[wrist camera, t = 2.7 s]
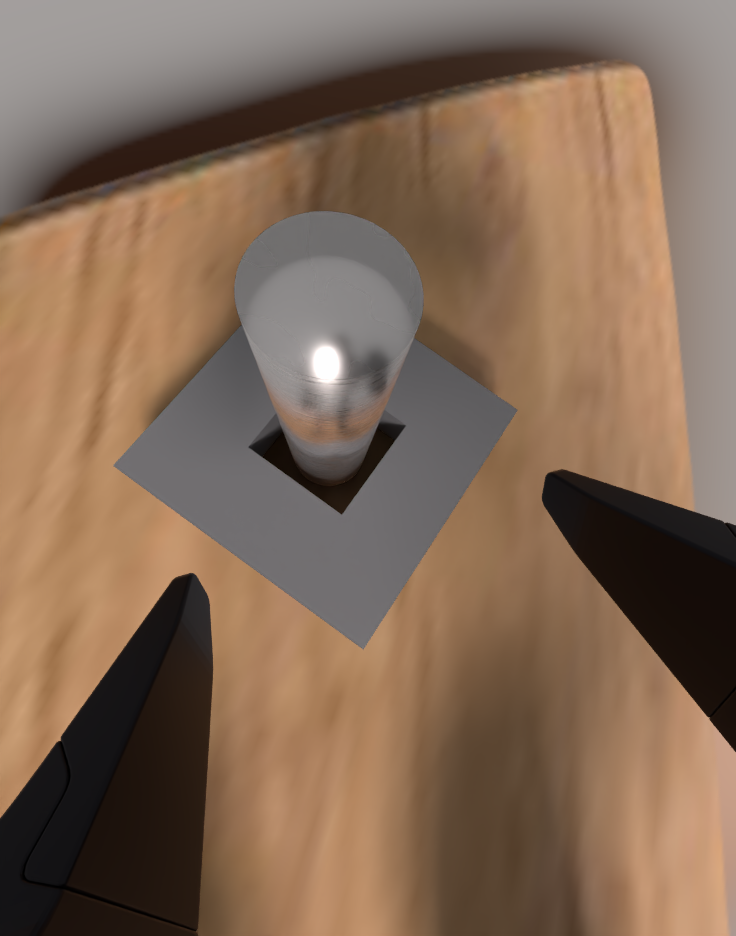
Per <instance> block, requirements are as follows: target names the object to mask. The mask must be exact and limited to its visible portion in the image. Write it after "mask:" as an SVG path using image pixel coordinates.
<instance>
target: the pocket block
mask: <svg viewBox="0 0 736 936" xmlns="http://www.w3.org/2000/svg"><path fill="white" fill-rule="evenodd" d="M516 412H517V409H515V408H514V407H513V406H511V405H510V404H508V403H507V402H505V401H504V400H502V399H501V398H500V397H498V396H497V395H495V394H494V393H492V392H491V391H490V390H488V389H487V388H485V387H484V386H482V385H481V384H479V383H478V382H477V381H475V380H474V379H472V378H471V377H469V376H468V375H467V374H465V373H464V372H462V371H461V370H459V369H458V368H456V367H455V366H454V365H452V364H451V363H449V362H448V361H446V360H445V359H444V358H442V357H441V356H439V355H438V354H436V353H435V352H433V351H432V350H431V349H429V348H428V347H426V346H425V345H423V344H422V343H421V342H419V341H418V340H416V339H415V338H414V339H413V341H412V344H411V346H410V349H409V351H408V353H407V356H406V358H405V361H404V363H403V366H402V368H401V370H400V373H399V375H398V378H397V380H396V383H395V385H394V387H393V390H392V392H391V395H390V397H389V400H388V402H387V405H386V407H385V409H384V412H383V414H382V417H381V419H380V422H379V424H378V426H377V428H378V429H379V430H381V431H382V432H384V433H385V434H386V435H388V436H389V437H391V438H392V439H393V440H395V442H394V443H393V445H392V446H391V447H390V449H389V450H388V452H387V453H386V454H385V456H384V457H383V458H382V460H381V461H380V463H379V464H378V465H377V467H376V468H375V470H374V471H373V472H372V474H371V475H370V476H369V478H368V479H367V481H366V482H365V483H364V485H363V486H362V488H361V489H360V490H359V492H358V493H357V495H356V496H355V497H354V499H353V500H352V501H351V503H350V504H349V506H348V507H347V508H346V510H345V511H344V513H343V514H342V515H341V514H340V513H339V512H337V511H336V510H335V509H333V508H332V507H330V506H329V505H328V504H326V503H325V502H323V501H322V500H321V499H319V498H318V497H316V496H315V495H314V494H312V493H311V492H310V491H308V490H307V489H305V488H304V487H303V486H301V485H300V484H298V483H297V482H296V481H294V480H293V479H292V478H290V477H289V476H287V475H286V474H285V473H283V472H282V471H280V470H279V469H278V468H276V467H275V466H273V465H272V464H271V463H269V462H268V461H267V460H265V459H264V458H262V457H263V455H264V454H265V453H266V452H267V450H268V449H269V448H270V447H271V445H272V444H273V443H274V442H275V440H276V439H277V438H278V437H279V436H280V434H281V433H282V432H283V430H282V427H281V425H280V422H279V419H278V417H277V414H276V412H275V409H274V406H273V404H272V401H271V399H270V396H269V393H268V391H267V388H266V386H265V383H264V380H263V378H262V375H261V373H260V370H259V367H258V365H257V362H256V360H255V357H254V354H253V352H252V349H251V347H250V344H249V341H248V339H247V336H246V334H245V331H244V328H243V326H242V325H241V326H240V327H239V328H238V329H237V330H236V331H235V333H234V334H233V335H232V336H231V337H230V338H229V339H228V340H227V341H226V342H225V344H224V345H223V346H222V347H221V348H220V349H219V350H218V351H217V352H216V353H215V355H214V356H213V357H212V358H211V359H210V360H209V361H208V362H207V363H206V364H205V365H204V367H203V368H202V369H201V370H200V371H199V372H198V373H197V374H196V375H195V376H194V378H193V379H192V380H191V381H190V382H189V383H188V384H187V385H186V386H185V387H184V388H183V390H182V391H181V392H180V393H179V394H178V395H177V396H176V397H175V398H174V399H173V401H172V402H171V403H170V404H169V405H168V406H167V407H166V408H165V409H164V410H163V412H162V413H161V414H160V415H159V416H158V417H157V418H156V419H155V420H154V421H153V422H152V424H151V425H150V426H149V427H148V428H147V429H146V430H145V431H144V432H143V433H142V435H141V436H140V437H139V438H138V439H137V440H136V441H135V442H134V443H133V444H132V446H131V447H130V448H129V449H128V450H127V451H126V452H125V453H124V454H123V455H122V456H121V458H120V459H119V460H118V461H117V462H116V463H115V464H114V465H113V466H114V467H116V468H117V469H118V470H120V471H121V472H122V473H124V474H125V475H126V476H128V477H129V478H131V479H132V480H133V481H135V482H136V483H137V484H139V485H140V486H141V487H143V488H144V489H146V490H147V491H148V492H150V493H151V494H152V495H154V496H155V497H156V498H158V499H159V500H161V501H162V502H163V503H165V504H166V505H167V506H169V507H170V508H171V509H173V510H174V511H175V512H177V513H178V514H180V515H181V516H182V517H184V518H185V519H186V520H188V521H189V522H190V523H192V524H193V525H195V526H196V527H197V528H199V529H200V530H201V531H203V532H204V533H205V534H207V535H208V536H210V537H211V538H212V539H214V540H215V541H216V542H218V543H219V544H220V545H222V546H223V547H225V548H226V549H227V550H229V551H230V552H231V553H233V554H234V555H235V556H237V557H238V558H239V559H241V560H242V561H244V562H245V563H246V564H248V565H249V566H250V567H252V568H253V569H254V570H256V571H257V572H259V573H260V574H261V575H263V576H264V577H265V578H267V579H268V580H269V581H271V582H272V583H274V584H275V585H276V586H278V587H279V588H280V589H282V590H283V591H284V592H286V593H287V594H289V595H290V596H291V597H293V598H294V599H295V600H297V601H298V602H299V603H301V604H302V605H303V606H305V607H306V608H308V609H309V610H310V611H312V612H313V613H314V614H316V615H317V616H318V617H320V618H321V619H323V620H324V621H325V622H327V623H328V624H329V625H331V626H332V627H333V628H335V629H336V630H338V631H339V632H340V633H342V634H343V635H344V636H346V637H347V638H348V639H350V640H351V641H352V642H354V643H355V644H357V645H358V646H359V647H361V648H362V649H364V648H365V646H366V645H367V643H368V641H369V640H370V638H371V637H372V635H373V634H374V632H375V631H376V629H377V628H378V626H379V624H380V623H381V621H382V620H383V618H384V617H385V615H386V614H387V612H388V610H389V609H390V607H391V606H392V604H393V603H394V601H395V600H396V598H397V596H398V595H399V593H400V592H401V590H402V589H403V587H404V586H405V584H406V583H407V581H408V579H409V578H410V576H411V575H412V573H413V572H414V570H415V569H416V567H417V565H418V564H419V562H420V561H421V559H422V558H423V556H424V555H425V553H426V552H427V550H428V548H429V547H430V545H431V544H432V542H433V541H434V539H435V538H436V536H437V534H438V533H439V531H440V530H441V528H442V527H443V525H444V524H445V522H446V520H447V519H448V517H449V516H450V514H451V513H452V511H453V510H454V508H455V507H456V505H457V503H458V502H459V500H460V499H461V497H462V496H463V494H464V493H465V491H466V489H467V488H468V486H469V485H470V483H471V482H472V480H473V479H474V477H475V475H476V474H477V472H478V471H479V469H480V468H481V466H482V465H483V463H484V462H485V460H486V458H487V457H488V455H489V454H490V452H491V451H492V449H493V448H494V446H495V444H496V443H497V441H498V440H499V438H500V437H501V435H502V434H503V432H504V431H505V429H506V427H507V426H508V424H509V423H510V421H511V420H512V418H513V417H514V415H515V413H516Z"/></svg>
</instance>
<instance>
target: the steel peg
mask: <svg viewBox="0 0 736 936" xmlns="http://www.w3.org/2000/svg"><path fill="white" fill-rule="evenodd" d="M234 292H235V303H236V308H237V312H238V315H239V318H240V321H241V323H242V326H243V328H244V331H245V334H246V336H247V339H248V341H249V344H250V347H251V349H252V352H253V354H254V357H255V360H256V362H257V365H258V367H259V370H260V373H261V375H262V378H263V380H264V383H265V386H266V388H267V391H268V393H269V396H270V399H271V401H272V404H273V406H274V409H275V412H276V414H277V417H278V419H279V422H280V425H281V427H282V430H283V432H284V435H285V438H286V440H287V443H288V445H289V448H290V451H291V453H292V456H293V458H294V461H295V464H296V466H297V468H298V470H299V471H300V472H301V474H302V475H303V476H304V477H306V478H307V479H308V480H310V481H311V482H313V483H316V484H319V485H323V486H335V485H339V484H342V483H345V482H346V481H348V480H350V479H351V478H352V477H353V476H355V474H356V473H357V472H358V471H359V469H360V467H361V465H362V463H363V461H364V458H365V456H366V453H367V451H368V448H369V446H370V444H371V441H372V439H373V436H374V434H375V431H376V429H377V426H378V424H379V422H380V419H381V417H382V414H383V412H384V409H385V407H386V405H387V402H388V400H389V397H390V395H391V392H392V390H393V387H394V385H395V383H396V380H397V378H398V375H399V373H400V370H401V368H402V366H403V363H404V361H405V358H406V356H407V353H408V351H409V349H410V346H411V344H412V341H413V339H414V336H415V334H416V331H417V329H418V327H419V324H420V320H421V317H422V312H423V287H422V282H421V279H420V275H419V272H418V270H417V268H416V265H415V263H414V261H413V260H412V258H411V257H410V255H409V253H408V252H407V251H406V250H405V248H404V247H403V246H402V245H401V244H400V243H399V242H398V241H397V240H396V239H395V238H394V237H393V236H392V235H391V234H389V233H388V232H387V231H385V230H384V229H382V228H381V227H379V226H377V225H376V224H374V223H372V222H370V221H368V220H365V219H363V218H360V217H357V216H354V215H350V214H346V213H341V212H332V211H316V212H307V213H302V214H298V215H294V216H291V217H289V218H286V219H283V220H281V221H279V222H277V223H275V224H273V225H272V226H271V227H269V228H268V229H266V230H265V231H263V232H262V233H261V234H260V235H259V236H258V237H257V238H256V239H255V240H254V241H253V242H252V243H251V245H250V246H249V247H248V249H247V250H246V252H245V254H244V255H243V257H242V259H241V262H240V264H239V266H238V270H237V273H236V277H235V287H234Z"/></svg>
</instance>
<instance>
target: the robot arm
mask: <svg viewBox="0 0 736 936" xmlns="http://www.w3.org/2000/svg"><path fill="white" fill-rule="evenodd" d="M542 501H543V504H544V506H545V508H546V509H547V511H548V513H549V514H550V516H551V517H552V519H553V520H554V522H555V523H556V525H557V526H558V528H559V529H560V531H561V532H562V534H563V536H564V537H565V539H566V540H567V542H568V543H569V545H570V546H571V548H572V549H573V550H574V552H575V553H576V555H577V556H578V557H579V558H580V560H581V561H582V562H583V563H584V565H585V566H586V567H587V568H588V570H589V571H590V572H591V573H592V575H593V576H594V577H595V578H596V580H597V581H598V582H599V583H600V584H601V586H602V587H603V588H604V589H605V591H606V592H607V593H608V594H609V596H610V597H611V598H612V599H613V601H614V602H615V603H616V604H617V606H618V607H619V608H620V609H621V610H622V612H623V613H624V614H625V615H626V617H627V618H628V619H629V620H630V622H631V623H632V624H633V625H634V627H635V628H636V629H637V630H638V631H639V633H640V634H641V635H642V636H643V638H644V639H645V640H646V641H647V643H648V644H649V645H650V646H651V648H652V649H653V650H654V651H655V653H656V654H657V655H658V656H659V657H660V659H661V660H662V661H663V662H664V664H665V665H666V666H667V667H668V669H669V670H670V671H671V672H672V674H673V675H674V676H675V677H676V678H677V680H678V681H679V682H680V683H681V685H682V686H683V687H684V688H685V690H686V691H687V692H688V693H689V695H690V696H691V697H692V698H693V699H694V701H695V702H696V703H697V704H698V706H699V707H700V708H701V709H702V711H703V712H704V713H705V714H706V716H707V717H710V718H709V719H710V721H711V722H712V723H713V725H714V726H715V727H716V728H717V730H718V731H719V732H720V733H721V734H722V736H723V737H724V738H725V739H726V741H727V742H728V743H729V744H730V746H731V747H732V748H733V749H734V751H735V752H736V525H733V524H730V523H724V522H723V521H721V520H717V519H715V518H711V517H708V516H705V515H702V514H699V513H696V512H693V511H690V510H687V509H684V508H681V507H678V506H675V505H672V504H668V503H665V502H662V501H659V500H656V499H653V498H650V497H647V496H644V495H641V494H638V493H635V492H632V491H629V490H625V489H622V488H619V487H616V486H613V485H610V484H607V483H604V482H601V481H598V480H595V479H592V478H589V477H586V476H583V475H579V474H576V473H573V472H570V471H567V470H563V469H561V470H557V471H553V472H550V473H548V474H547V475H546V477H545V482H544V488H543V493H542ZM212 683H213V653H212V636H211V619H210V604H209V598H208V595H207V593H206V592H205V590H204V588H203V586H202V585H201V583H200V581H199V579H198V578H197V576H196V575H195V574H194V573H189V574H185V575H182V576H178V577H176V578H174V579H173V580H172V582H171V583H170V584H169V586H168V587H167V589H166V590H165V591H164V593H163V594H162V596H161V597H160V598H159V600H158V601H157V603H156V604H155V605H154V607H153V608H152V610H151V611H150V612H149V614H148V615H147V617H146V618H145V619H144V621H143V622H142V624H141V625H140V626H139V628H138V629H137V631H136V632H135V633H134V635H133V636H132V638H131V639H130V640H129V642H128V643H127V645H126V646H125V647H124V649H123V650H122V652H121V653H120V654H119V656H118V657H117V659H116V660H115V661H114V663H113V664H112V666H111V667H110V668H109V670H108V671H107V673H106V674H105V675H104V677H103V678H102V680H101V681H100V682H99V684H98V685H97V687H96V688H95V689H94V691H93V692H92V694H91V695H90V696H89V698H88V699H87V701H86V702H85V703H84V705H83V706H82V708H81V709H80V710H79V712H78V713H77V715H76V716H75V718H74V719H73V720H72V722H71V723H70V725H69V726H68V727H67V729H66V730H65V732H64V733H63V734H62V736H61V741H58V742H57V743H56V744H55V745H54V747H53V748H52V749H51V751H50V752H49V754H48V755H47V756H46V758H45V759H44V761H43V762H42V763H41V765H40V766H39V768H38V769H37V770H36V772H35V773H34V774H33V776H32V777H31V778H30V780H29V781H28V782H27V784H26V785H25V787H24V788H23V789H22V791H21V792H20V793H19V795H18V796H17V797H16V799H15V800H14V801H13V803H12V804H11V805H10V806H9V808H8V809H7V810H6V812H5V813H4V814H3V815H2V817H1V818H0V936H198V932H196V931H197V929H198V919H199V902H200V886H201V869H202V852H203V835H204V818H205V801H206V784H207V768H208V751H209V734H210V717H211V700H212Z"/></svg>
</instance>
